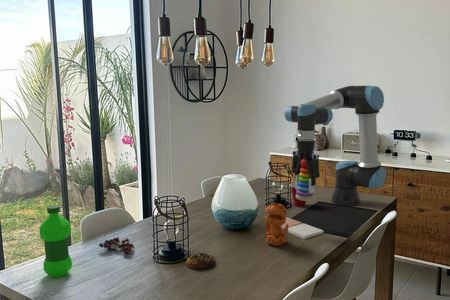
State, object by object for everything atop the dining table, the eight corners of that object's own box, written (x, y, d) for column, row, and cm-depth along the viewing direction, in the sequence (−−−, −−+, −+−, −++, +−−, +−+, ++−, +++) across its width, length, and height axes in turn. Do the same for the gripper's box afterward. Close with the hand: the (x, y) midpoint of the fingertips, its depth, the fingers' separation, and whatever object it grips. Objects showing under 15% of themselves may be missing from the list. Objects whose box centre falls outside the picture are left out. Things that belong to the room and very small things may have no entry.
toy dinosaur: (256, 243, 182) (257, 201, 179) (272, 236, 190) (272, 196, 187) (278, 250, 174) (279, 207, 172) (293, 242, 182) (294, 201, 179)
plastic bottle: (79, 269, 159) (74, 203, 155) (62, 282, 148) (57, 212, 144) (55, 266, 161) (50, 201, 157) (36, 279, 151) (30, 210, 147)
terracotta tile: (283, 218, 214) (283, 216, 214) (301, 224, 204) (301, 222, 204) (265, 223, 207) (265, 220, 207) (282, 230, 197) (282, 227, 197)
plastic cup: (294, 201, 243) (295, 180, 241) (312, 204, 237) (313, 183, 235) (285, 206, 234) (285, 184, 232) (303, 209, 228) (304, 187, 226)
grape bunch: (93, 253, 171) (94, 241, 170) (109, 242, 185) (110, 232, 184) (129, 260, 168) (130, 248, 168) (142, 249, 182) (143, 238, 182)
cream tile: (303, 225, 203) (303, 223, 203) (323, 233, 193) (323, 230, 193) (285, 231, 196) (285, 228, 196) (304, 238, 186) (304, 236, 186)
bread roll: (205, 272, 155) (204, 258, 155) (180, 270, 161) (179, 256, 160) (221, 262, 165) (220, 249, 164) (197, 260, 170) (195, 247, 170)
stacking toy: (308, 202, 187) (309, 159, 184) (292, 199, 191) (293, 157, 188) (316, 198, 193) (317, 156, 190) (300, 195, 198) (301, 155, 195)
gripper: (283, 137, 194) (282, 187, 198) (317, 143, 178) (316, 197, 181) (295, 136, 198) (294, 185, 202) (329, 141, 182) (328, 194, 186)
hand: (304, 190), depth 192 cm, fingers closed on stacking toy, 7 cm apart
